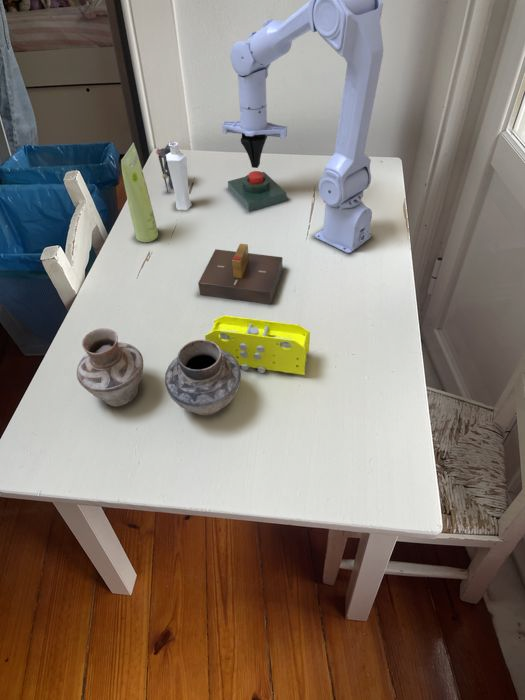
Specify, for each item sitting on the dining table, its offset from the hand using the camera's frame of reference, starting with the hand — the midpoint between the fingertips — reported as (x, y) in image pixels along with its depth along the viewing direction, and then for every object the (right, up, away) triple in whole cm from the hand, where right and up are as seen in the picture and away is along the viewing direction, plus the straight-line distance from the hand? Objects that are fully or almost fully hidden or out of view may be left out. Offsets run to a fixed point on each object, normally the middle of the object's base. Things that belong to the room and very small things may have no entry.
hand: (255, 165), depth 113 cm
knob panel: (-2, -30, -17) cm, 34 cm away
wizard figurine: (-20, -2, +9) cm, 22 cm away
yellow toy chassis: (+1, -45, -31) cm, 55 cm away
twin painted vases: (-14, -51, -36) cm, 64 cm away
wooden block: (-3, -27, -19) cm, 34 cm away
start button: (0, -3, +3) cm, 4 cm away
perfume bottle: (-17, -9, +3) cm, 20 cm away
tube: (-24, -18, -5) cm, 31 cm away
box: (0, -5, +6) cm, 8 cm away
